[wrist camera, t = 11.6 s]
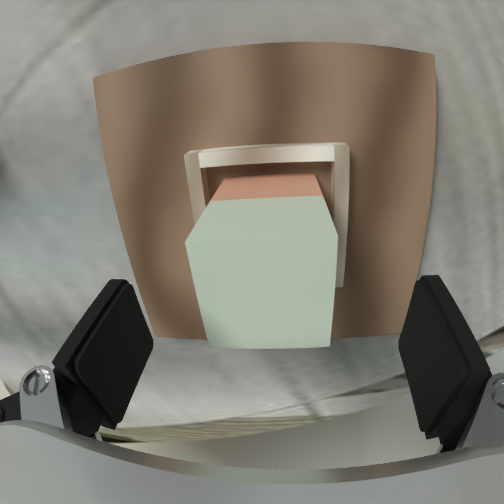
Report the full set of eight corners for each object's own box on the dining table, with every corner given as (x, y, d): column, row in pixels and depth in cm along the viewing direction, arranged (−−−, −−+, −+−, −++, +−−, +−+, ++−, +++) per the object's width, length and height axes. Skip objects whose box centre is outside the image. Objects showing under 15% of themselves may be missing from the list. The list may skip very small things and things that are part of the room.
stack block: (314, 173, 17) (337, 236, 10) (314, 252, 19) (329, 346, 12) (225, 177, 17) (184, 242, 10) (234, 254, 20) (209, 347, 13)
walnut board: (423, 56, 13) (443, 52, 11) (397, 320, 23) (406, 343, 21) (105, 77, 16) (82, 78, 13) (160, 324, 25) (150, 346, 23)
